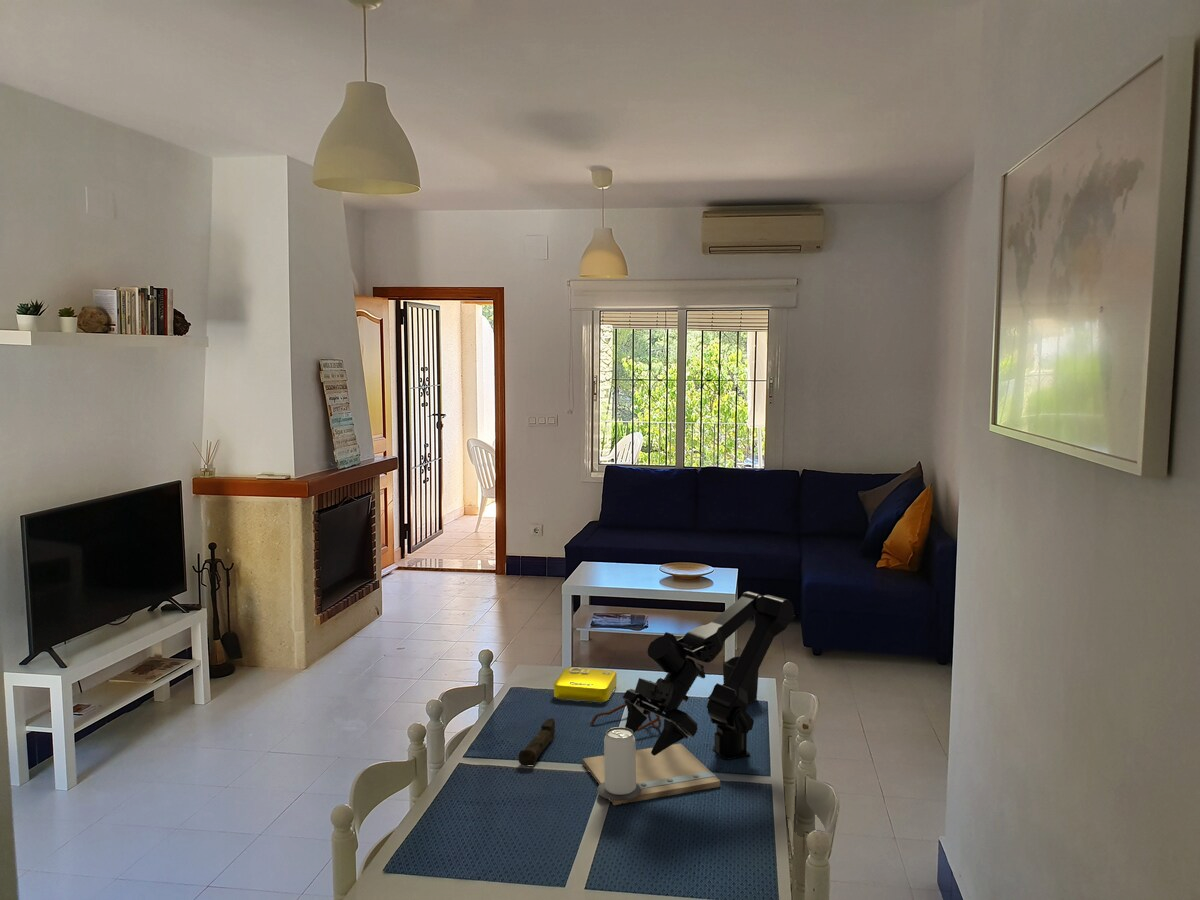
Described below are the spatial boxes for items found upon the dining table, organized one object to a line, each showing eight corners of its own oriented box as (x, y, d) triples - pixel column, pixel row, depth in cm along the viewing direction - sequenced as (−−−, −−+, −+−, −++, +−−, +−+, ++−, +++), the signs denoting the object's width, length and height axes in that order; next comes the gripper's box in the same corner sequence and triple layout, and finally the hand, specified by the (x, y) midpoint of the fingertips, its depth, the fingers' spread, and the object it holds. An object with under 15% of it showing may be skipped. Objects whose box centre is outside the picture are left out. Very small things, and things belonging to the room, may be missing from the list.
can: (618, 799, 178) (617, 741, 177) (598, 788, 183) (597, 732, 182) (642, 789, 182) (641, 732, 181) (621, 778, 187) (621, 723, 186)
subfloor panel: (680, 748, 205) (680, 742, 205) (722, 788, 186) (722, 782, 185) (574, 765, 197) (574, 759, 197) (605, 809, 177) (605, 802, 177)
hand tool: (534, 768, 195) (534, 748, 195) (518, 766, 197) (518, 746, 196) (564, 735, 213) (564, 716, 213) (549, 733, 215) (549, 714, 214)
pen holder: (718, 692, 240) (719, 657, 239) (752, 691, 241) (753, 655, 240) (727, 706, 231) (728, 668, 230) (762, 704, 232) (763, 667, 231)
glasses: (662, 732, 215) (662, 712, 215) (618, 745, 208) (618, 724, 208) (630, 714, 226) (630, 695, 226) (587, 726, 219) (587, 707, 219)
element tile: (552, 700, 236) (552, 683, 236) (566, 681, 251) (565, 664, 250) (607, 705, 233) (607, 687, 232) (617, 685, 247) (617, 668, 247)
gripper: (628, 652, 194) (589, 713, 188) (687, 675, 179) (646, 743, 174) (655, 679, 200) (618, 739, 194) (714, 704, 185) (676, 769, 179)
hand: (638, 746), depth 185 cm, fingers open, 9 cm apart
